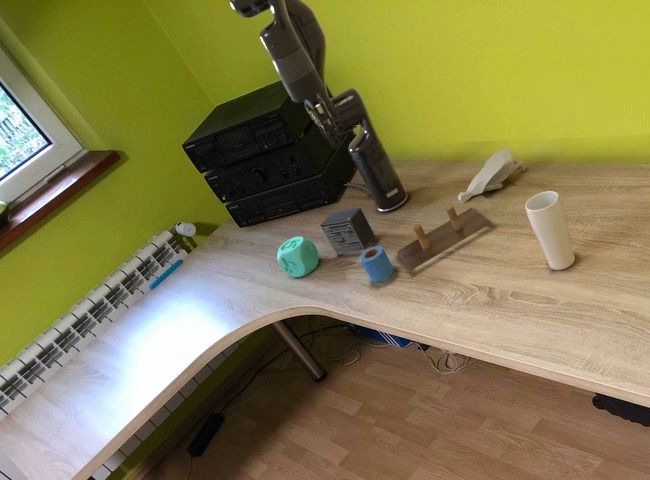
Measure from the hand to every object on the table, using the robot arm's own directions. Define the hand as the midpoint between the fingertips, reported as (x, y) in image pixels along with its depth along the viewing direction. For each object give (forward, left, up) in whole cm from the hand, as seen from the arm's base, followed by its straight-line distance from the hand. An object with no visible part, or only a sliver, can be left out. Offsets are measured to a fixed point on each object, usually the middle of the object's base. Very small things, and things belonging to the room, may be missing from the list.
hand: (334, 142), depth 145 cm
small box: (-12, -6, -31) cm, 34 cm away
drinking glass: (+43, +25, -31) cm, 59 cm away
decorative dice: (-18, -22, -31) cm, 42 cm away
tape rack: (+10, +11, -31) cm, 35 cm away
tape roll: (+10, -6, -31) cm, 33 cm away
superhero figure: (-2, +31, -31) cm, 44 cm away
